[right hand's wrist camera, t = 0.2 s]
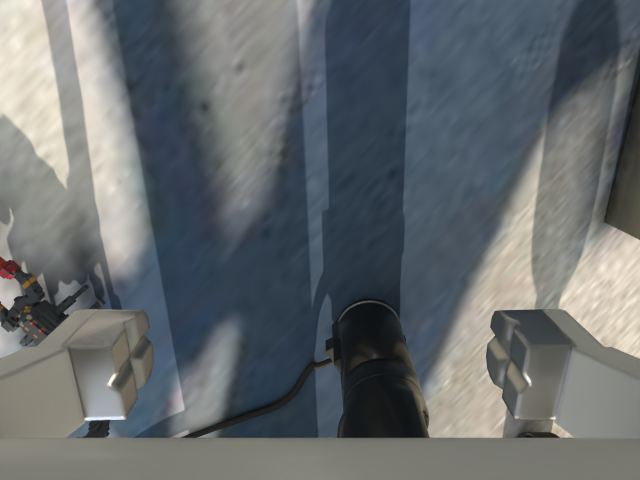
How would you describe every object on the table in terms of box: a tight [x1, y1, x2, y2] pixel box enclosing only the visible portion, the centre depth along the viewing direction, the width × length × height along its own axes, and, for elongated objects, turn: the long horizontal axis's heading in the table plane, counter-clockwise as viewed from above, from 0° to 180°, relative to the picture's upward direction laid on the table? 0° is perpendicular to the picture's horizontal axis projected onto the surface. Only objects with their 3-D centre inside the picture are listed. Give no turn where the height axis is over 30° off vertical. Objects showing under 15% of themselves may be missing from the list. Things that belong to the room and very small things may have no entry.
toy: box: [0, 257, 110, 438], centre depth 56 cm, size 13×27×18 cm, turn 39°
